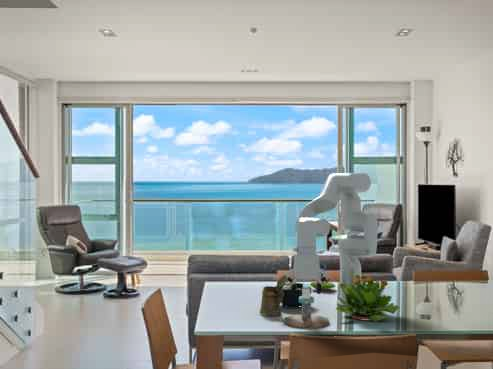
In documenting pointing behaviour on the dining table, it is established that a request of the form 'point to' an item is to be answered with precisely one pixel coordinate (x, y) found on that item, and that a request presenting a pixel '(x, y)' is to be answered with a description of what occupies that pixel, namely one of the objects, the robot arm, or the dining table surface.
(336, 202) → the robot arm
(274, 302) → the wooden mug
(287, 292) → the bowl
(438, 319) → the dining table surface
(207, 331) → the dining table surface
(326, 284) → the figurine
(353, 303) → the potted flower
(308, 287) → the white-capped blue bar
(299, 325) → the base plate
